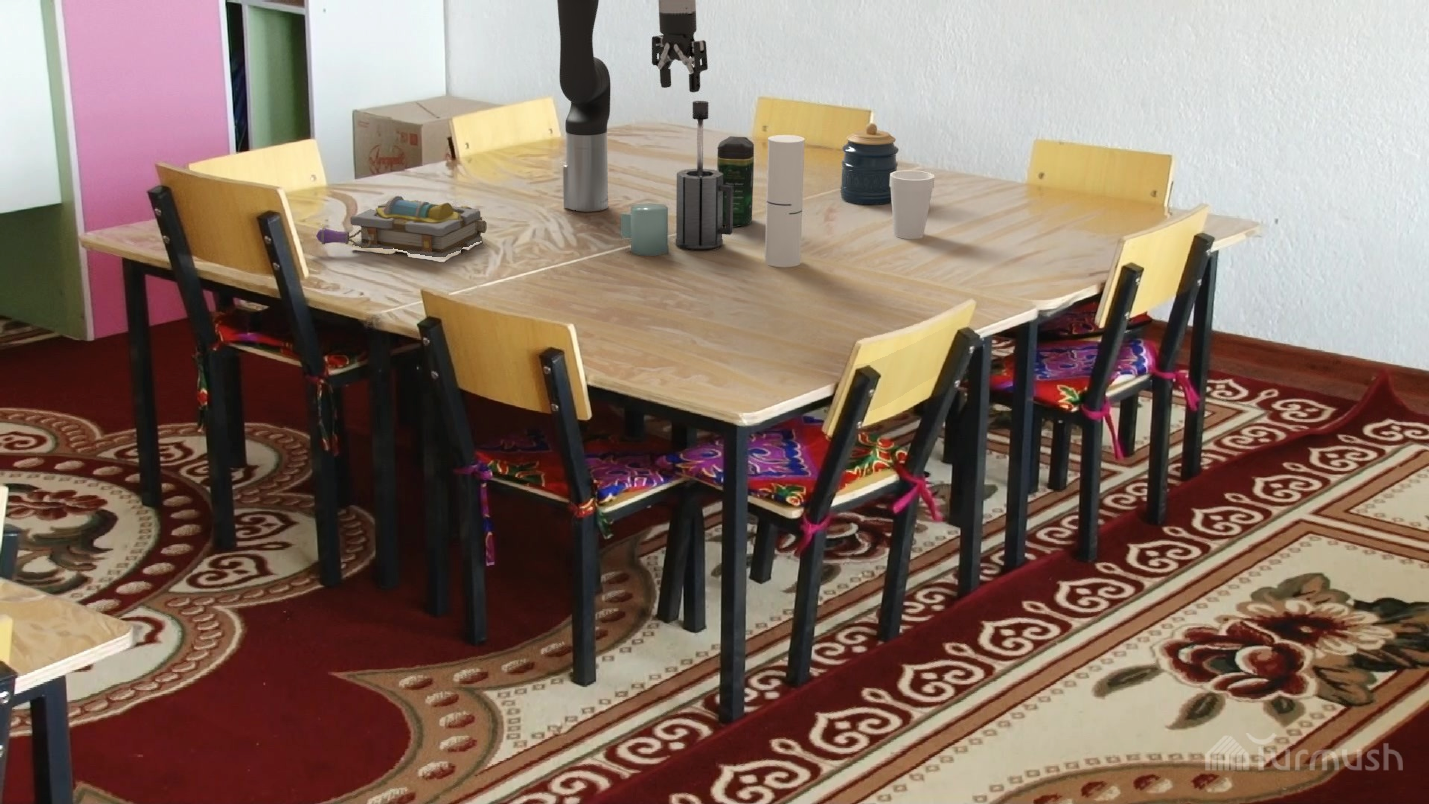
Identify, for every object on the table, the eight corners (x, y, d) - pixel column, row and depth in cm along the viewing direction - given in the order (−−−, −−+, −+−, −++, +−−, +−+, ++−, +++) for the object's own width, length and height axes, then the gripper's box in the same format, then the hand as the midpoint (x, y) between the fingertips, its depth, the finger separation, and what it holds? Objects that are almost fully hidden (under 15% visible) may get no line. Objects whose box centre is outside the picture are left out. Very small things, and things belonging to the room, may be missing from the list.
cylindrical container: (763, 257, 319) (766, 134, 310) (798, 257, 320) (802, 134, 311) (767, 267, 313) (770, 142, 304) (802, 266, 313) (807, 142, 304)
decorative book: (384, 229, 339) (380, 180, 336) (492, 241, 330) (490, 191, 326) (314, 257, 317) (310, 205, 314) (428, 271, 308) (425, 218, 304)
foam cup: (934, 231, 340) (938, 172, 335) (925, 242, 332) (929, 181, 327) (891, 227, 343) (895, 168, 338) (881, 238, 334) (885, 177, 330)
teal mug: (615, 252, 322) (614, 209, 318) (629, 243, 328) (628, 200, 325) (659, 257, 319) (659, 214, 315) (673, 247, 325) (673, 205, 322)
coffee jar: (750, 228, 340) (752, 143, 334) (713, 227, 341) (715, 142, 334) (754, 217, 349) (756, 134, 343) (718, 216, 350) (720, 133, 343)
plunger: (687, 189, 322) (687, 103, 316) (693, 185, 326) (694, 99, 319) (705, 191, 321) (706, 104, 315) (712, 186, 325) (713, 101, 318)
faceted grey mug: (668, 248, 325) (668, 176, 320) (685, 236, 334) (685, 166, 328) (723, 254, 321) (724, 181, 316) (738, 242, 330) (739, 171, 325)
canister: (905, 197, 369) (909, 122, 362) (880, 208, 358) (884, 131, 352) (856, 189, 375) (859, 115, 369) (829, 200, 365) (833, 124, 358)
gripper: (640, 8, 321) (643, 88, 327) (687, 13, 312) (690, 96, 318) (667, 4, 326) (670, 83, 332) (715, 9, 317) (717, 90, 322)
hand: (680, 89), depth 325 cm, fingers open, 8 cm apart
